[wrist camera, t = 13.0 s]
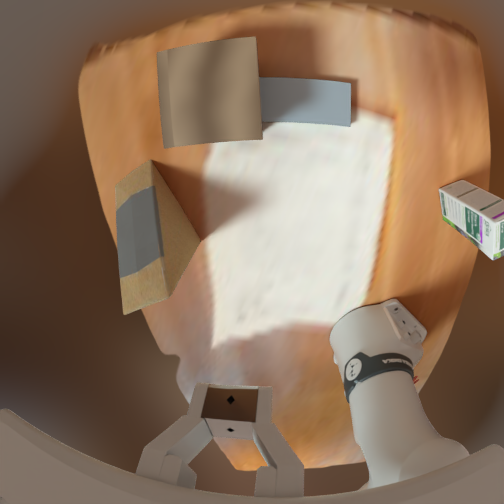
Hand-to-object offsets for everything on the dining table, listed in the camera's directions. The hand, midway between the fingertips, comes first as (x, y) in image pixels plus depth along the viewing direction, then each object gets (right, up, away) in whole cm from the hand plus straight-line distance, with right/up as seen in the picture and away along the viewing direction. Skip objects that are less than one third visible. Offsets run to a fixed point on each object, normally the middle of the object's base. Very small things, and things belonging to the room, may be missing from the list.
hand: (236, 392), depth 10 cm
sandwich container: (-14, +12, +31) cm, 36 cm away
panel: (+3, +26, +22) cm, 34 cm away
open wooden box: (-3, +26, +22) cm, 34 cm away
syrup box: (+34, +14, +25) cm, 44 cm away
